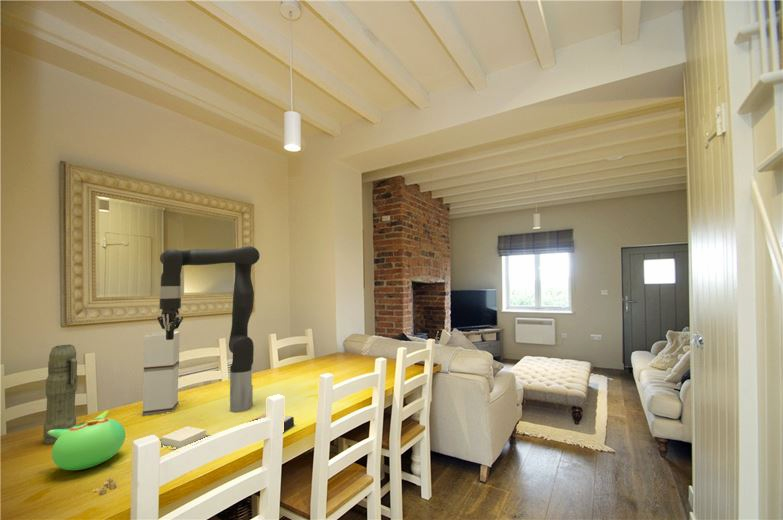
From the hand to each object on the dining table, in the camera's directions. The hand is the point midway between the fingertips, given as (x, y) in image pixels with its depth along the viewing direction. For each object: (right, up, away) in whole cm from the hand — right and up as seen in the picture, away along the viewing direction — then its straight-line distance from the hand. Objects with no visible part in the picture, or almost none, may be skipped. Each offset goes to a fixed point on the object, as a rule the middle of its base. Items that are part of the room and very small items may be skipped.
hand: (169, 339), depth 144 cm
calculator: (+43, -34, -6) cm, 56 cm away
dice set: (+11, -33, -45) cm, 57 cm away
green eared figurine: (-6, -33, -31) cm, 46 cm away
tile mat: (+14, -34, -16) cm, 40 cm away
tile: (+11, -32, -14) cm, 37 cm away
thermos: (-34, -35, -12) cm, 51 cm away
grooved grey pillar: (-15, -37, +18) cm, 44 cm away
